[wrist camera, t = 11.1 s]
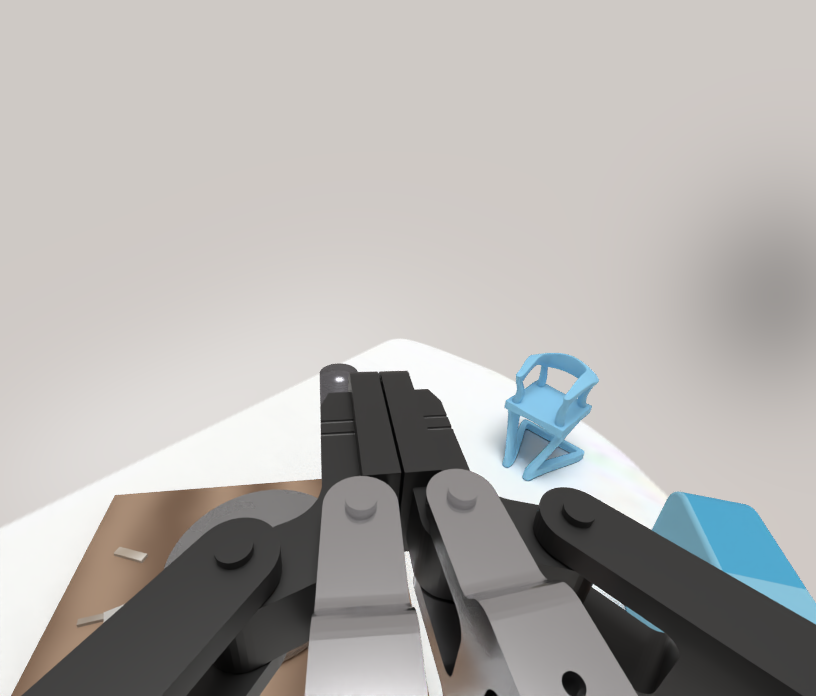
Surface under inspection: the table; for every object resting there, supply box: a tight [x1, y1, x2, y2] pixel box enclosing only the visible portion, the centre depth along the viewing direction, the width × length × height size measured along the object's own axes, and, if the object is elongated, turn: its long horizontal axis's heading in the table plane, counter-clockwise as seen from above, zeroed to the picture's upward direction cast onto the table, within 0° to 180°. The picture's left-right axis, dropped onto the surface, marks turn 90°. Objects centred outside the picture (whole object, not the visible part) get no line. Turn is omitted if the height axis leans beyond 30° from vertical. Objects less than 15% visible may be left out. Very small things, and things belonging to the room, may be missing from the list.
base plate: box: [11, 479, 429, 696], centre depth 32 cm, size 24×20×1 cm
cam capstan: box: [104, 364, 358, 661], centre depth 28 cm, size 17×13×16 cm
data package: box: [626, 492, 816, 633], centre depth 27 cm, size 12×4×12 cm, turn 169°
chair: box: [502, 353, 599, 481], centre depth 45 cm, size 8×8×12 cm
